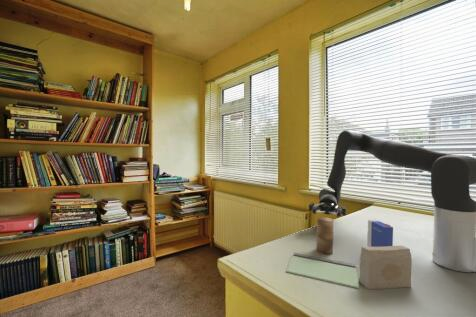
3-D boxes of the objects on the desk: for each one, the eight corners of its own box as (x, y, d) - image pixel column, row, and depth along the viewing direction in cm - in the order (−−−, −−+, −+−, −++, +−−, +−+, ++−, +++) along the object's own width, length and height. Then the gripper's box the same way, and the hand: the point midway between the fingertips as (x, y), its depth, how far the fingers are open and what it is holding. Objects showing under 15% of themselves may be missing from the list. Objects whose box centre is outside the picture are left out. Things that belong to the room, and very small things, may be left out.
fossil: (399, 279, 60) (401, 244, 60) (411, 287, 56) (413, 249, 56) (358, 281, 58) (359, 245, 58) (367, 290, 55) (368, 251, 55)
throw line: (355, 265, 67) (355, 264, 67) (355, 267, 66) (355, 266, 66) (294, 253, 74) (294, 252, 74) (293, 255, 73) (293, 254, 73)
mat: (356, 269, 64) (356, 268, 64) (358, 288, 55) (358, 287, 55) (292, 257, 72) (292, 255, 72) (286, 272, 63) (286, 270, 63)
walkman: (392, 265, 67) (393, 226, 67) (383, 266, 67) (384, 226, 67) (374, 253, 75) (375, 218, 75) (366, 254, 75) (367, 218, 74)
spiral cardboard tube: (332, 249, 78) (333, 218, 77) (332, 256, 73) (333, 222, 73) (317, 247, 80) (317, 216, 80) (315, 252, 75) (316, 220, 75)
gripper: (312, 194, 105) (307, 201, 90) (345, 197, 99) (346, 205, 84) (311, 210, 105) (307, 219, 91) (344, 214, 100) (346, 225, 85)
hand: (326, 212), depth 88 cm, fingers open, 8 cm apart
